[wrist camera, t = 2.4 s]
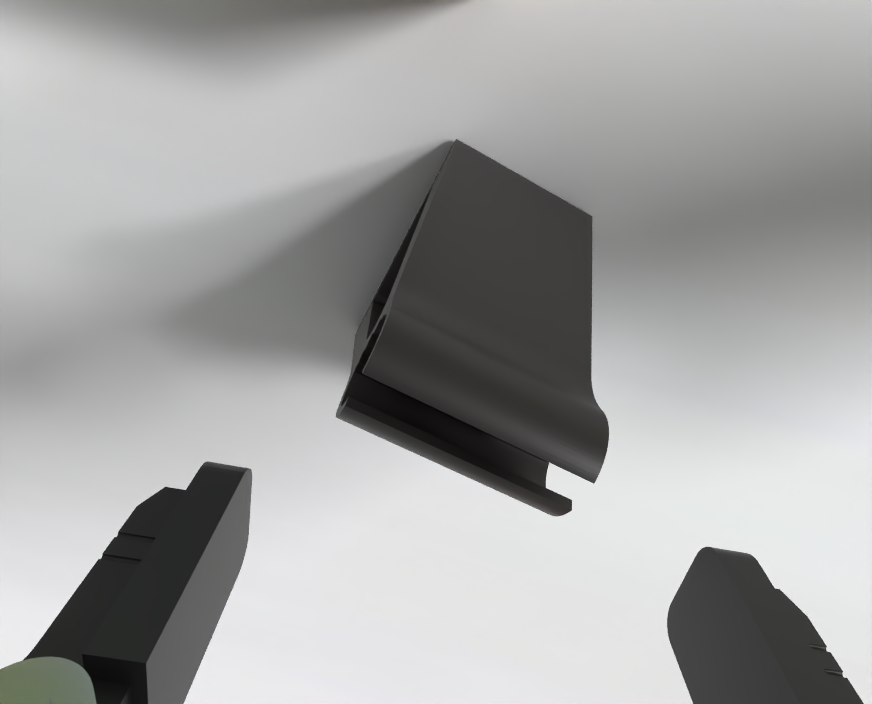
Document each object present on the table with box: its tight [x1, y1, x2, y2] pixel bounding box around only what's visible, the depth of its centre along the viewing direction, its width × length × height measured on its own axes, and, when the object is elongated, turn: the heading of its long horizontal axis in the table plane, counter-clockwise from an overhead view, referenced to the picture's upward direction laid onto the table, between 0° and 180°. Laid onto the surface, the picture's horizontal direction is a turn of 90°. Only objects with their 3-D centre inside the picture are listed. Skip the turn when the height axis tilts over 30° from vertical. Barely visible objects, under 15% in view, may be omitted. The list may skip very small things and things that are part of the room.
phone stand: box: [336, 139, 609, 516], centre depth 18 cm, size 9×6×12 cm, turn 152°
